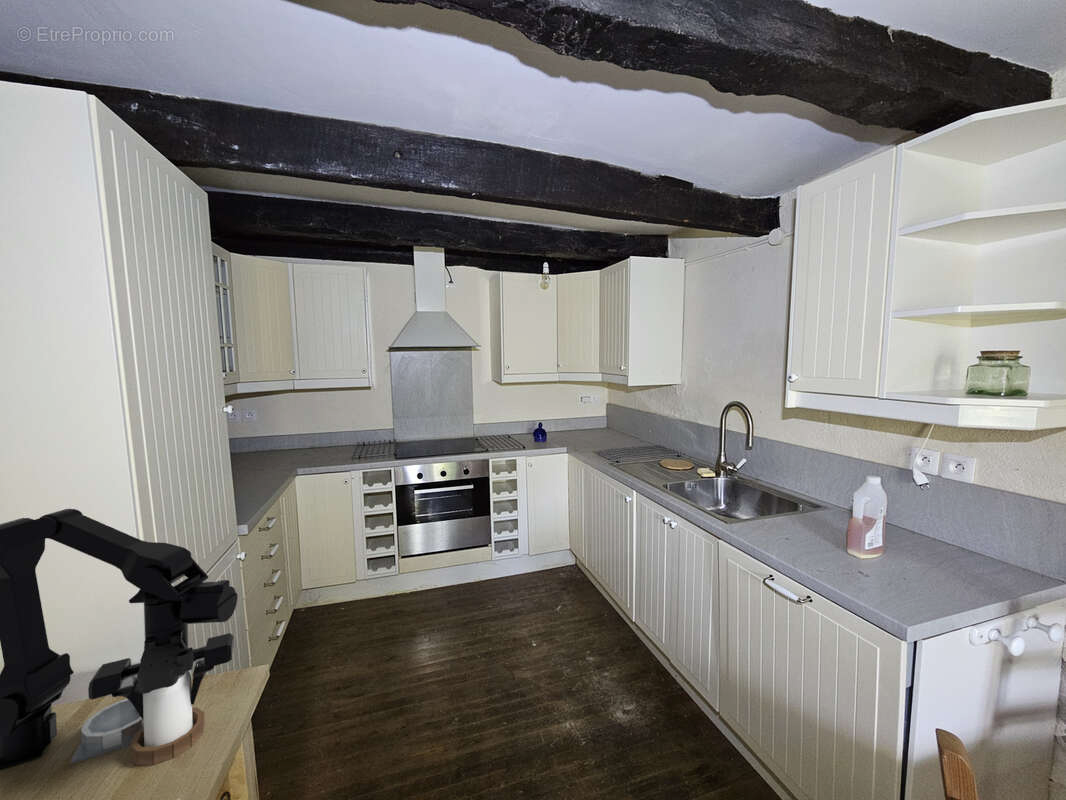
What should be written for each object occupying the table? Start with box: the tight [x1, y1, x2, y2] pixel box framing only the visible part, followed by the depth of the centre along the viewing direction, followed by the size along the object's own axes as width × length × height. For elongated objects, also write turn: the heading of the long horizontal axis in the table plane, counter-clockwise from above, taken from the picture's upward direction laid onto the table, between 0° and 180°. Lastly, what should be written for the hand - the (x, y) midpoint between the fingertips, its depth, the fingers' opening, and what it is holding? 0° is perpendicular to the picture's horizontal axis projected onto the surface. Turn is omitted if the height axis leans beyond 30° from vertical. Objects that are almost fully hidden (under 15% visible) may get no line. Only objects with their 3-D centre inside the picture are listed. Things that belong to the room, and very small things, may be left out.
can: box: [143, 670, 194, 747], centre depth 75 cm, size 6×6×12 cm
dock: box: [70, 698, 144, 765], centre depth 78 cm, size 10×10×3 cm
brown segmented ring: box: [130, 707, 205, 766], centre depth 75 cm, size 10×10×2 cm
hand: (169, 710), depth 75 cm, fingers closed on can, 6 cm apart
